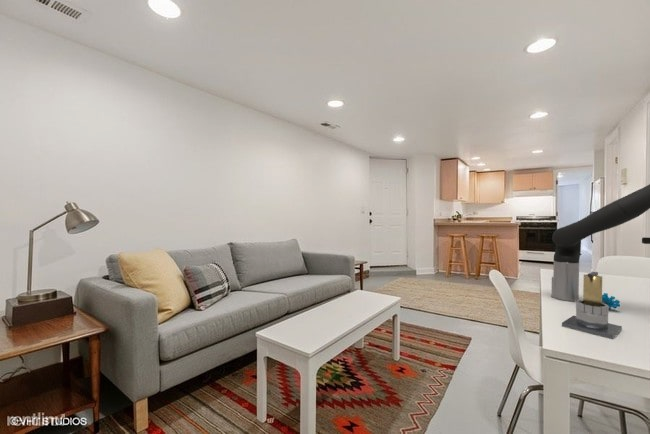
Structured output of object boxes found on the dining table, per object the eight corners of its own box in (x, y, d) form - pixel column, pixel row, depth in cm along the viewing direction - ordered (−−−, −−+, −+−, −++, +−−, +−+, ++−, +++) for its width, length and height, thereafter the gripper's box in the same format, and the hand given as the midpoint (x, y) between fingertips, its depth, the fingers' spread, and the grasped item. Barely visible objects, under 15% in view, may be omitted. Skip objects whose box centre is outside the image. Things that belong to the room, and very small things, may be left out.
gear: (625, 307, 120) (613, 291, 118) (622, 319, 118) (609, 303, 116) (592, 303, 130) (580, 288, 128) (588, 314, 128) (576, 299, 126)
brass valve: (580, 310, 102) (580, 273, 102) (586, 307, 106) (586, 270, 106) (598, 314, 98) (599, 275, 98) (604, 310, 102) (604, 273, 102)
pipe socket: (561, 326, 104) (562, 301, 103) (573, 318, 111) (573, 296, 111) (612, 339, 93) (613, 312, 93) (621, 329, 101) (622, 304, 101)
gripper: (701, 231, 102) (638, 229, 108) (737, 233, 89) (662, 231, 95) (700, 252, 102) (637, 250, 109) (736, 258, 89) (662, 255, 96)
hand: (649, 241), depth 102 cm, fingers open, 8 cm apart
